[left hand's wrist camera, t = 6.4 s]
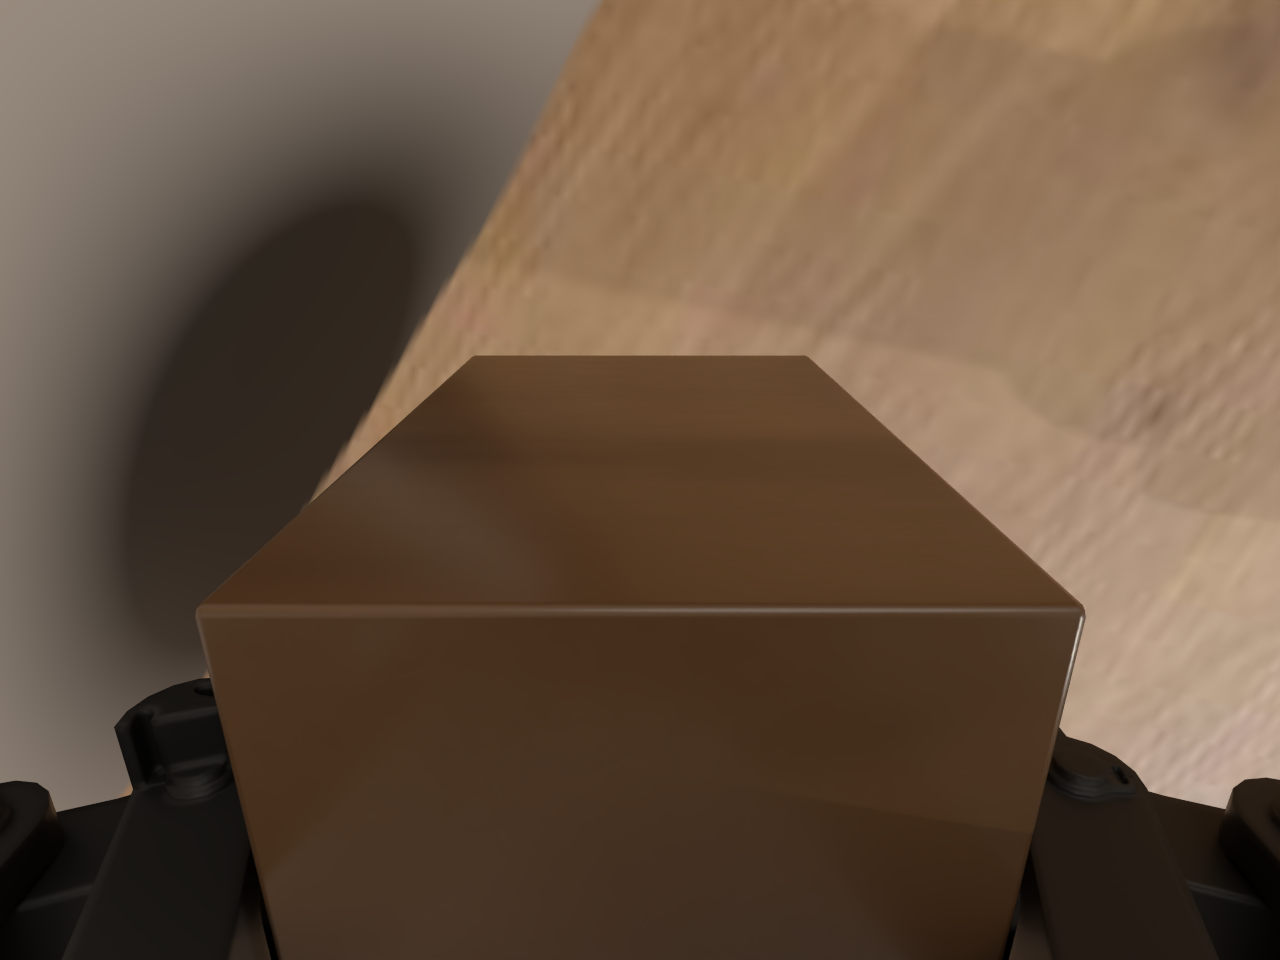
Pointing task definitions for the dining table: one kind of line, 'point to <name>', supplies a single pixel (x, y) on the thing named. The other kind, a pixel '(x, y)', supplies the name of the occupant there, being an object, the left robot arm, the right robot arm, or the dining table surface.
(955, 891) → the box
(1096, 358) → the dining table surface
